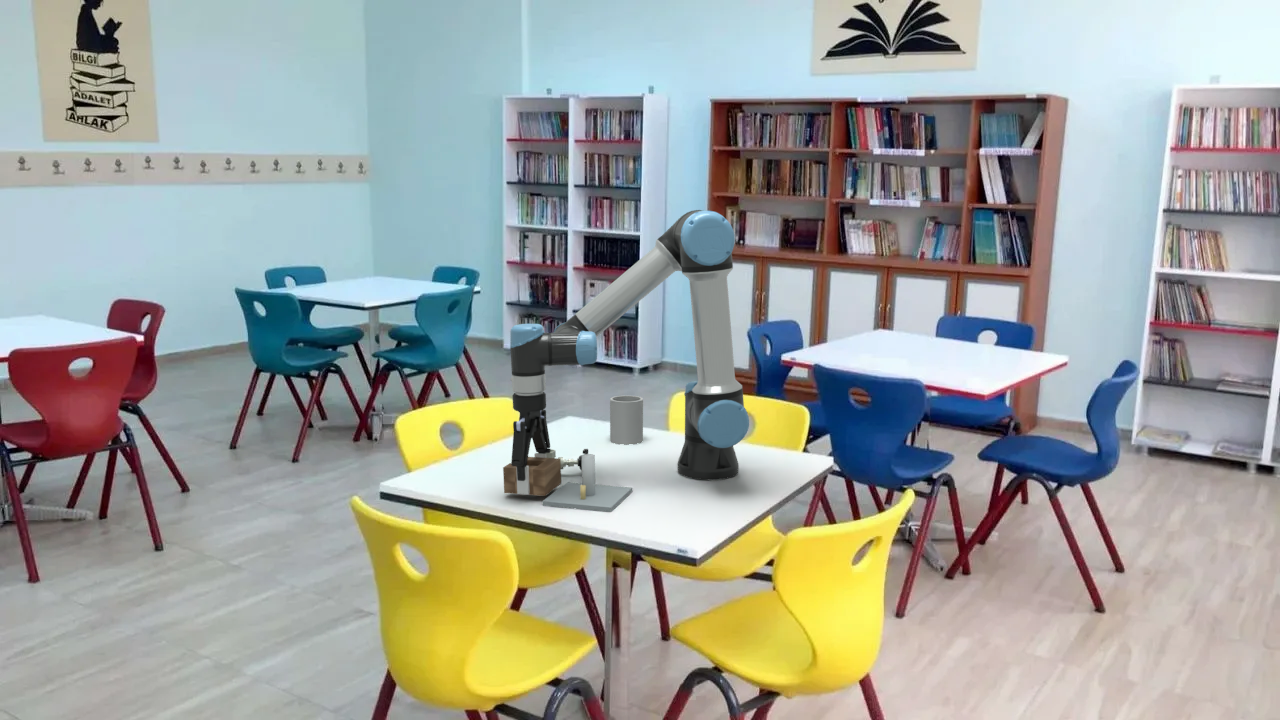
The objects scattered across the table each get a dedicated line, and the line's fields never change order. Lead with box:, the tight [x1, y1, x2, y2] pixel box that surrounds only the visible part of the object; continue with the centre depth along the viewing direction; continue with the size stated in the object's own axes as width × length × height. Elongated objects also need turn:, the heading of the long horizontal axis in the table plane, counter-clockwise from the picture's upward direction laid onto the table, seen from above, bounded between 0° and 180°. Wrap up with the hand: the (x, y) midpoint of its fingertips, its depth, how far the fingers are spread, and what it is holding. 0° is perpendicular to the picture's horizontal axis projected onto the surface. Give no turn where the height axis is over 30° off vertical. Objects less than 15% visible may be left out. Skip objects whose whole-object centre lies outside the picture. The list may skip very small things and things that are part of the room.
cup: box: [609, 395, 644, 446], centre depth 287 cm, size 9×9×12 cm
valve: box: [546, 448, 589, 472], centre depth 253 cm, size 7×7×12 cm
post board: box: [541, 453, 634, 513], centre depth 234 cm, size 16×16×10 cm
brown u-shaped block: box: [502, 456, 562, 497], centre depth 237 cm, size 10×10×6 cm
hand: (532, 487), depth 238 cm, fingers closed on brown u-shaped block, 10 cm apart
